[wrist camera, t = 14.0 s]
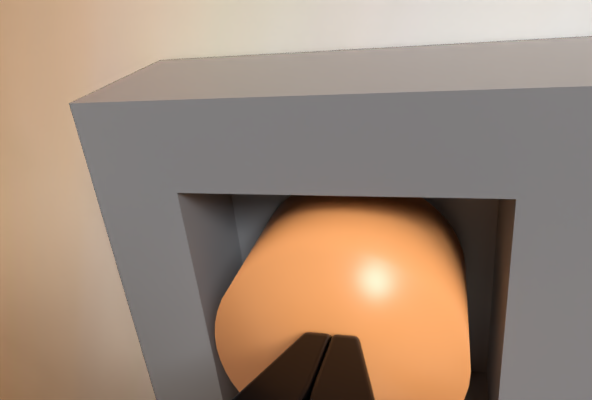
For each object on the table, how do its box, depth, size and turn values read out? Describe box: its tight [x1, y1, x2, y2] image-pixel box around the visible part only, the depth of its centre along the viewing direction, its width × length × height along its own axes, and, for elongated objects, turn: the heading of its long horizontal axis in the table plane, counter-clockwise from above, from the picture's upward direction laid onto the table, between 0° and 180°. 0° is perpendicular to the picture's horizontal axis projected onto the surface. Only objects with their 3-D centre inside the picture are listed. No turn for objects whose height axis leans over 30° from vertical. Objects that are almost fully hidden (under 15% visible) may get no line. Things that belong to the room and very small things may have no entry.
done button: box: [215, 195, 471, 400], centre depth 9 cm, size 4×4×2 cm
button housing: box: [69, 36, 592, 400], centre depth 10 cm, size 8×8×3 cm
